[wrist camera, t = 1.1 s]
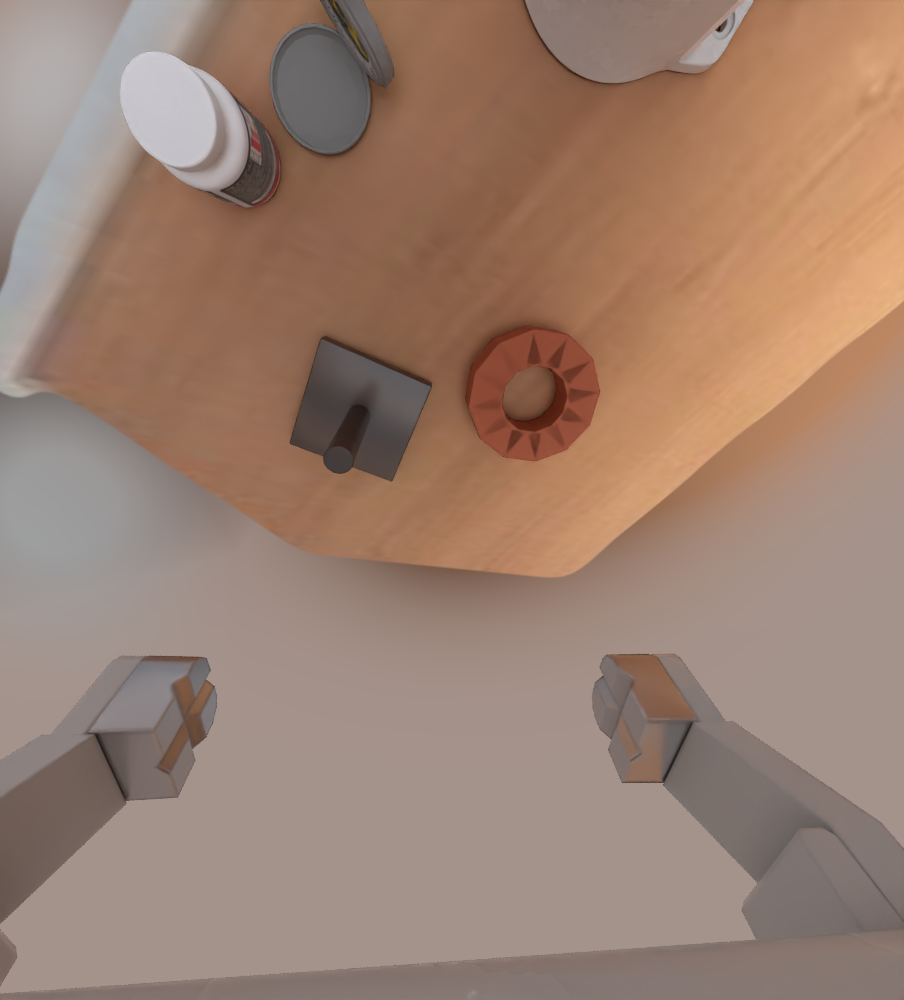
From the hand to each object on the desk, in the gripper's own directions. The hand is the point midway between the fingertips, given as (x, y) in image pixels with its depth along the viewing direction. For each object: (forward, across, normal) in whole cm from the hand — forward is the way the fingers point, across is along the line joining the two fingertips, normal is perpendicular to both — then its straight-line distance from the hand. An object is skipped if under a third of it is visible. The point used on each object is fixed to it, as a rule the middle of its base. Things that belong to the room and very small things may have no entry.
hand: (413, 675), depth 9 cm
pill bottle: (+33, +13, -15) cm, 39 cm away
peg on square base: (+33, +5, +3) cm, 34 cm away
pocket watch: (+33, +6, -19) cm, 39 cm away
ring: (+33, -10, +1) cm, 35 cm away
